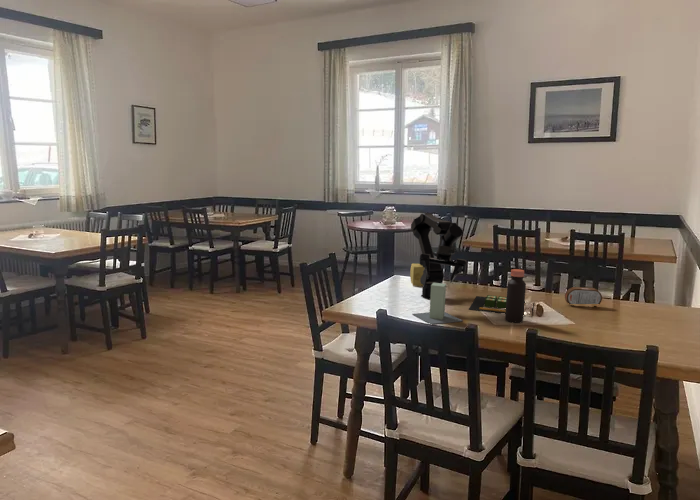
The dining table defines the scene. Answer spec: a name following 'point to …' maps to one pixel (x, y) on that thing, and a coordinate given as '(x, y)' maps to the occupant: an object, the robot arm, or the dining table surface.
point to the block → (437, 300)
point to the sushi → (489, 304)
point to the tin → (583, 296)
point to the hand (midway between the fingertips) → (439, 280)
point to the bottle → (515, 297)
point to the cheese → (416, 274)
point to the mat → (446, 319)
